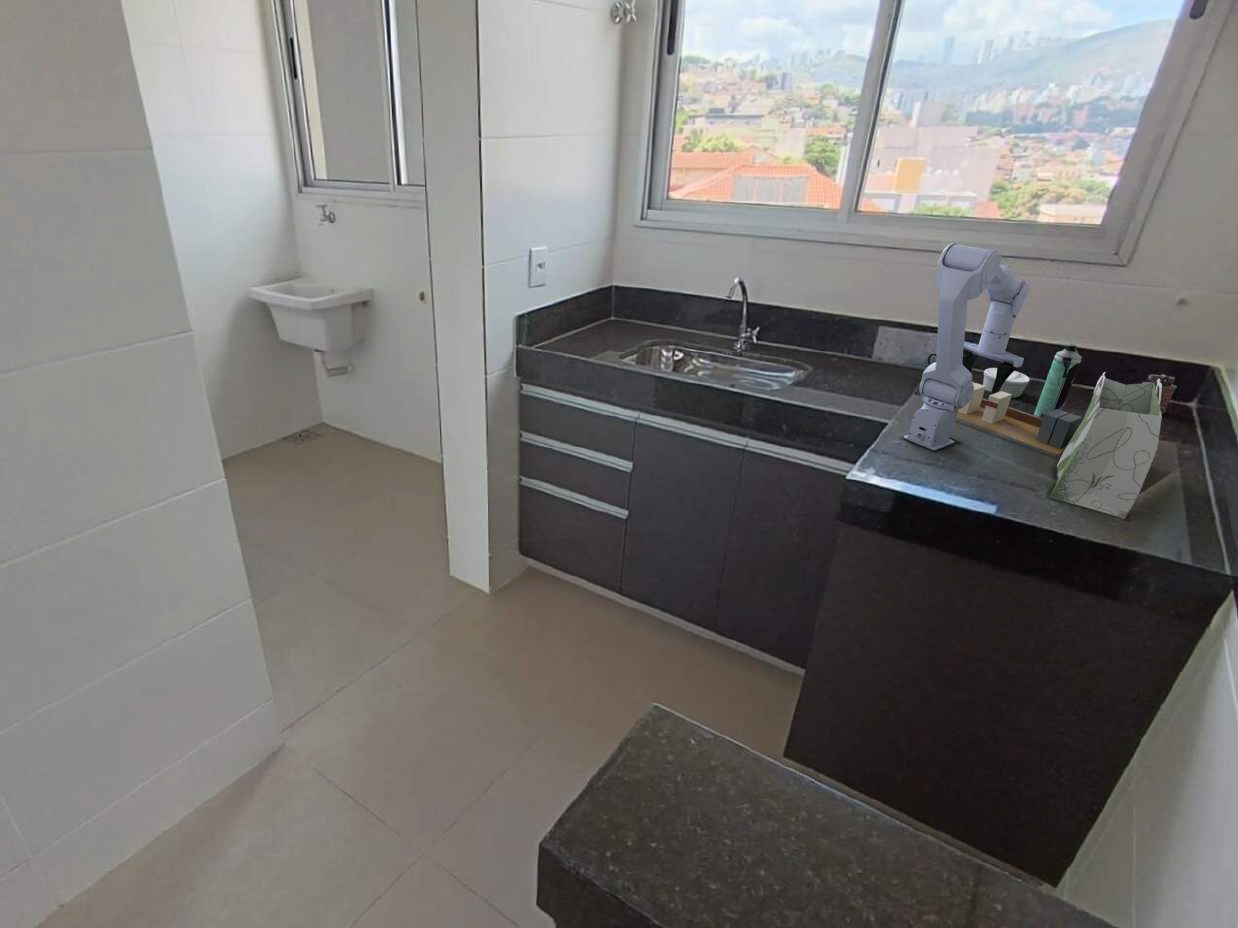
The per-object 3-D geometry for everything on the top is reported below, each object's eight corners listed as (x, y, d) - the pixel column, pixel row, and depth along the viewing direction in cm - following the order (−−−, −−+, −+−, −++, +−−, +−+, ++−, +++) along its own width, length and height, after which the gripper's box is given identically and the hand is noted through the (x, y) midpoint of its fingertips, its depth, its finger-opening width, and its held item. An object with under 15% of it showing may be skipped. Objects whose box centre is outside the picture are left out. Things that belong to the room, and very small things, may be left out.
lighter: (1159, 409, 181) (1175, 374, 177) (1167, 414, 178) (1183, 378, 174) (1128, 407, 182) (1143, 371, 178) (1135, 412, 179) (1151, 376, 174)
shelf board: (1055, 458, 150) (1060, 446, 149) (928, 411, 172) (931, 400, 171) (1083, 444, 158) (1087, 433, 156) (958, 401, 180) (961, 390, 178)
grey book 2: (1060, 448, 153) (1070, 422, 150) (1048, 444, 154) (1058, 418, 151) (1072, 442, 156) (1082, 417, 153) (1060, 438, 158) (1070, 413, 155)
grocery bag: (1062, 446, 157) (1098, 350, 147) (1133, 464, 150) (1177, 365, 140) (1044, 499, 134) (1087, 389, 123) (1128, 523, 127) (1180, 408, 116)
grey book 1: (1047, 443, 155) (1056, 417, 152) (1035, 439, 156) (1044, 413, 154) (1059, 438, 158) (1068, 412, 155) (1047, 434, 160) (1056, 408, 157)
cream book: (991, 424, 164) (999, 399, 161) (980, 420, 166) (988, 395, 163) (1004, 419, 167) (1012, 394, 164) (993, 415, 169) (1001, 391, 166)
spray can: (1060, 428, 166) (1090, 349, 157) (1036, 425, 167) (1064, 347, 158) (1052, 419, 171) (1080, 343, 162) (1029, 417, 172) (1056, 340, 163)
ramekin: (1029, 402, 182) (1035, 383, 179) (985, 397, 184) (991, 378, 181) (1016, 388, 192) (1022, 370, 189) (974, 383, 193) (980, 365, 191)
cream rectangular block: (966, 414, 168) (973, 390, 165) (956, 411, 170) (963, 387, 167) (978, 410, 172) (986, 386, 169) (968, 406, 174) (976, 383, 171)
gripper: (1037, 337, 153) (1017, 394, 159) (975, 322, 163) (959, 375, 169) (1021, 341, 149) (1002, 399, 155) (960, 325, 159) (944, 379, 165)
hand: (979, 387), depth 162 cm, fingers open, 7 cm apart
